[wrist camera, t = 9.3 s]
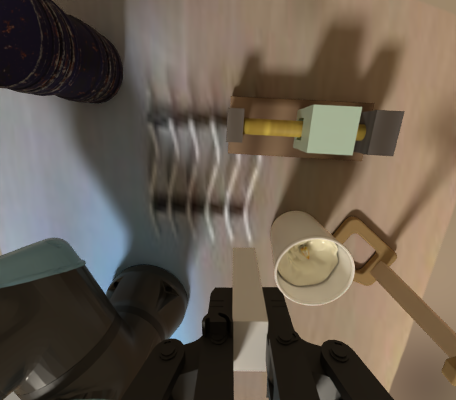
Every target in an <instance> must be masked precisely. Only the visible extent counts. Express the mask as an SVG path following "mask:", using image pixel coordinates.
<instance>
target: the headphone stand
mask: <svg viewBox="0 0 456 400" xmlns="http://www.w3.org/2000/svg"><path fill="white" fill-rule="evenodd" d="M353 233H357V234H359V235H360V236H361V237H362V238H363V239H364V240H365V241H366V242H368V243H369V244H370V245H371V246H372V247H373V248H374V249H375V250H376V253H375V254H374V256H373V257H372V258H371V259H370V260H369V261H368V262H367V263H366V264H365V265H364V266H363V267H362V268H361V269H359V270H357V269H355V275H354V279H353V281H355V282H358V283H360V284H363V285H366V286H369V285H372V284H373V283H374V282H375V281H376V280H377V281H378V282H379V283H380V284H381V285H382V286H383V288H384V289H385V290H386V291H387V292H388V293H389V294H390V295H391V296H392V297H393V298H394V299H395V300H396V301H397V302H398V303H399V304H400V306H401V307H402V308H403V309H404V310H405V311H406V312H407V313H408V314H409V315H410V316H411V317H412V318H413V319H414V320H415V321H416V323H417V324H419V326H420V327H421V328H422V329H423V330H424V331H425V332H426V333H427V334H428V335H429V336H430V337H431V338H432V339H433V341H434V342H436V344H437V345H438V346H439V347H440V348H441V349H442V350H443V351H444V352H445V353H446V354H447V355H448V356H449V357H450V358H449V359H446V361H445V364H444V366H443V368H442V373H443V375H444V376H445V377H446V378H447V379H448V381H449V382H450V383H451V384H452V385H453V386H456V333H455V332H454V331H453V330H452V329H451V328H450V327H449V326H448V325H447V324H446V323H445V322H444V321H443V320H442V319H441V318H440V317H439V316H438V315H437V314H436V313H435V312H434V311H433V310H432V309H431V308H430V307H429V306H428V305H427V304H426V303H425V302H424V301H423V300H422V299H421V298H420V297H419V296H418V295H417V294H416V293H415V292H414V291H413V290H412V289H411V288H410V287H409V286H408V285H407V284H406V283H405V282H404V281H403V280H402V279H401V278H400V277H399V276H398V275H397V274H396V273H395V272H394V271H393V270H392V269H391V268H390V267H389V266H390V265H391V264H392V263H393V262H394V261H395V260H396V258H397V255H396V253H395V252H394V251H393V250H392V249H391V248H390V247H389V246H388V245H387V244H386V243H384V242H383V241H382V240H381V239H380V238H379V237H378V236H377V235H376V234H375V233H374V232H373V231H372V230H371V229H369V228H368V227H367V226H366V225H365V224H364V223H363V222H362V221H361V220H360V219H358V218H357V217H348V218H347V219H346V220H345V221H344V222H343V223H342V224H341V226H340V227H339V228H338V229H337V230H336V232H335V233H334V234H333V235H332V236H334V237H335V238H336V239H337V240H338V241H339V242H340V243H341V244H343V243H344V242H345V241H346V240H347V239H348V237H349V236H350V235H351V234H353Z"/></svg>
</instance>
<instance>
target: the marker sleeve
mask: <svg viewBox="0 0 456 400" xmlns="http://www.w3.org/2000/svg"><path fill="white" fill-rule="evenodd" d="M361 111H362V107H352V106H333V105H311V106H308V107H305V108H303V109H299V110H298V113H297V120H296V121H303V128H302V135H301V137H294V143H293V148H296V149H299V150H301V151H303V152H306V153H319V154H336V155H353V150H354V146H355V141H356V136H357V131H358V126H359V121H360V116H361Z"/></svg>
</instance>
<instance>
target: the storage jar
mask: <svg viewBox="0 0 456 400" xmlns="http://www.w3.org/2000/svg"><path fill="white" fill-rule="evenodd" d="M122 79H123V67H122V62H121V59H120V56H119V54H118V52H117V50H116V49H115V47H114V46H113V45H112V43H111V42H110V41H109V40H108V39H106V38H105V37H104V36H102V35H101V34H99V33H98V32H97V31H96V30H95V29H93V28H92V27H90V26H89V25H87V24H86V23H84V22H82V21H81V20H79V19H77V18H75V17H73V16H71V15H68V14H65V13H64V12H63V11H62V10H61V9H60V8H59V7H58V6H57V5H56V4H55V3H54V2H53V1H52V0H0V88H7V89H11V90H14V91H17V92H22V93H28V94H34V95H40V96H47V95H56V96H58V97H61V98H64V99H66V100H70V101H77V102H85V103H86V102H88V103H103V102H106V101H108V100H110V99H111V98H113V97H114V96H115V95H116V93H117V92H118V90H119V88H120V86H121V83H122Z"/></svg>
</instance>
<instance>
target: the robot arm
mask: <svg viewBox="0 0 456 400" xmlns="http://www.w3.org/2000/svg"><path fill="white" fill-rule="evenodd" d="M85 264H86V262H85V261H84V260H81V259H80V257H79V256H78V255H77V253H76V252H75V251H74V250H73V248H72V247H71V246H70V244H69V243H68V242H66V241H65V240H63V239H60V238H49V239H45V240H42V241H39V242H36V243H33V244H31V245H28V246H25V247H22V248H20V249H17V250H15V251H12V252H9V253H7V254H4V255H1V256H0V400H3V399H4V398H5V397H7V396H8V395H9V394H10V393H11V392H13V391H14V392H15V393H16V395H17V396H18V397H19V398H20V399H21V400H234V377H233V371H266V367H267V375H268V376H267V396H266V398H269V400H394V399H393V398H392V397H391V396H390V394H389V393H388V392H387V391H386V390H385V388H384V387H383V386H382V385H381V383H380V382H379V381H378V380H377V379H376V377H375V376H374V375H373V374H372V372H371V371H370V370H369V369H368V368H367V366H366V365H365V364H364V363H363V362H362V360H361V359H360V358H359V357H358V355H357V354H356V353H355V352H354V351H353V350H352V349H351V348H350V347H349V346H348V345H346V344H345V343H343V342H341V341H337V340H328V341H325V342H324V343H323V344H322V346H318V345H314V344H311V343H309V342H306V341H304V340H303V339H301V338H300V337H299V335H298V333H297V332H295V331H294V328H293V325H292V322H291V318H290V315H289V312H288V309H287V305H286V302H285V299H284V296H283V293H282V292H281V291H280V290H279V289H278V288H277V287H262V285H261V279H260V274H259V268H258V263H257V257H256V252H255V248H233V288H215V289H214V290H213V291H212V293H211V296H210V303H209V310H208V314H207V315H206V316H205V317H204V318H203V320H202V334H203V336H201V337H200V338H199V339H198V340H196V341H194V342H192V343H188V344H185V345H183V344H182V342H181V341H179V340H177V339H169V338H170V337H171V336H172V334H173V333H174V332H175V331H176V329H177V328H178V327H179V326H180V324H181V323H182V321H183V318H184V315H185V312H186V309H187V295H186V292H185V289H184V287H183V286H182V284H181V283H180V281H179V280H178V279H177V278H176V277H175V276H174V275H172V274H171V273H169V272H168V271H166V270H164V269H162V268H159V267H156V266H151V265H137V266H132V267H129V268H127V269H125V270H124V271H122V272H121V273H120V274H119V275H118V276H117V277H116V278H115V279H114V280H113V282H112V283H111V284H110V286H109V288H108V290H107V292H106V295H105V293H104V292H103V290H102V289H101V287H100V286H99V285H98V283H97V282H96V280H95V279H94V277H93V276H92V274H91V273H90V271H89V270H88V268H87V267H86V266H85Z"/></svg>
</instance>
